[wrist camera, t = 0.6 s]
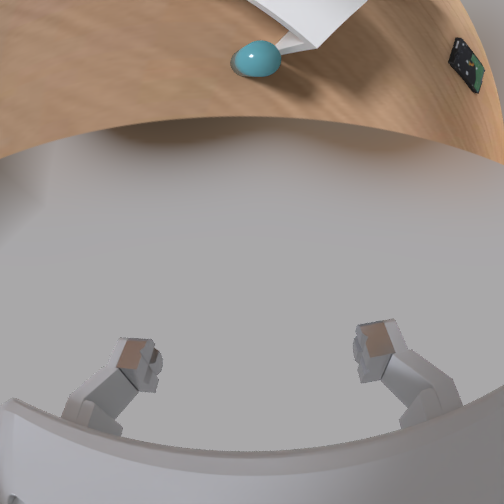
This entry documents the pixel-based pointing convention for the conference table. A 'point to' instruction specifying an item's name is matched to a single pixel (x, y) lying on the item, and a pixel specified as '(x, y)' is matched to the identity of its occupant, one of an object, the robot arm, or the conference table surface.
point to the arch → (307, 20)
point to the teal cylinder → (256, 59)
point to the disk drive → (466, 65)
